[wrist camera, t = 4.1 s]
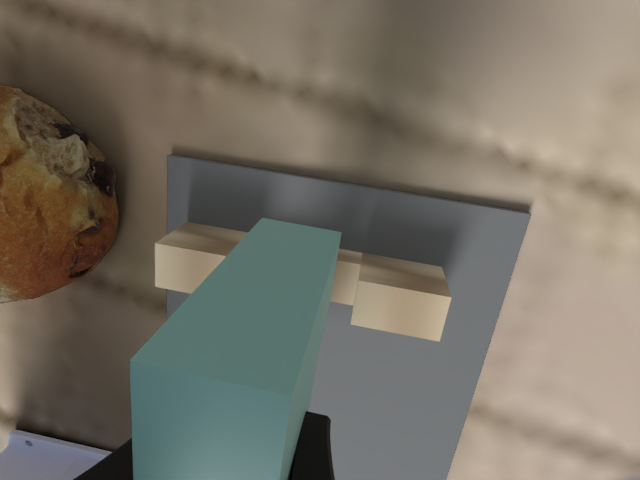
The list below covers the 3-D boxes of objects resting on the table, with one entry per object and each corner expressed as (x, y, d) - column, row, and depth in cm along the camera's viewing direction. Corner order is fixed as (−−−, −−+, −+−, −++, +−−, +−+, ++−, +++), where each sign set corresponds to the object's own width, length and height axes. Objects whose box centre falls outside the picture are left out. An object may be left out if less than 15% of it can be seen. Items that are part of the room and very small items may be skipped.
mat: (169, 473, 26) (166, 478, 26) (171, 154, 20) (167, 155, 19) (425, 534, 25) (426, 540, 25) (527, 212, 18) (530, 214, 18)
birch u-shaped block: (186, 260, 21) (155, 286, 18) (187, 221, 20) (154, 243, 17) (431, 305, 20) (439, 341, 17) (442, 266, 19) (451, 297, 16)
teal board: (239, 463, 16) (140, 716, 10) (262, 217, 13) (130, 360, 6) (300, 477, 16) (241, 747, 10) (341, 232, 12) (292, 395, 6)
